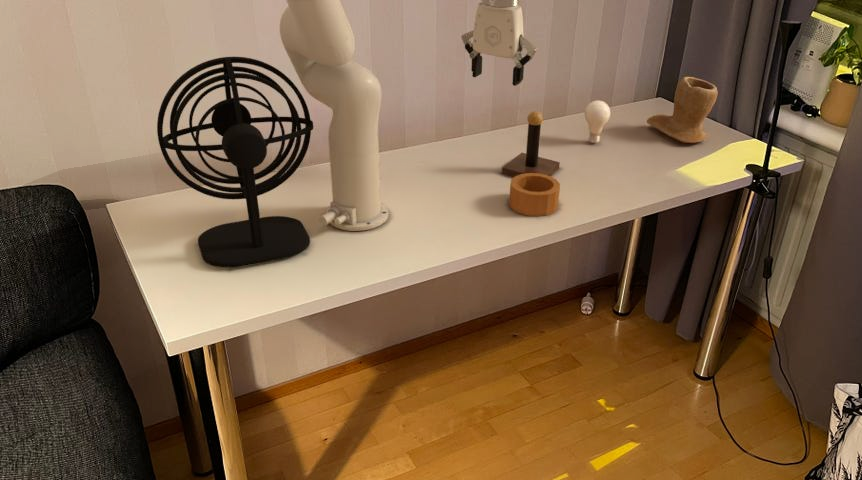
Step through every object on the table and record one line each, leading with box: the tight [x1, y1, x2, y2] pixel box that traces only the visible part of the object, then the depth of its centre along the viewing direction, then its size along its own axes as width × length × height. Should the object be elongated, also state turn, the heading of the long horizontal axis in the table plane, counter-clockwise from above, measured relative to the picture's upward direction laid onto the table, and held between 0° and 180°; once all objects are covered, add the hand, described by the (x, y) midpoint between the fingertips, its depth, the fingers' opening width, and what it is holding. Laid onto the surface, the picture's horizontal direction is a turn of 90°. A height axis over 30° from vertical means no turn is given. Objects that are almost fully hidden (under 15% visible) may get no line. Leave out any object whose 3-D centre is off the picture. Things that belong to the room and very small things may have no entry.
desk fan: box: [156, 56, 314, 269], centre depth 141 cm, size 27×18×35 cm, turn 115°
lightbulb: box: [584, 99, 612, 144], centre depth 195 cm, size 6×6×11 cm
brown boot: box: [646, 76, 718, 144], centre depth 201 cm, size 15×12×15 cm
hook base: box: [501, 152, 560, 178], centre depth 182 cm, size 10×10×2 cm
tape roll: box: [508, 173, 561, 217], centre depth 167 cm, size 10×10×5 cm
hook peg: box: [525, 110, 544, 167], centre depth 178 cm, size 3×3×13 cm
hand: (496, 79), depth 170 cm, fingers open, 9 cm apart
